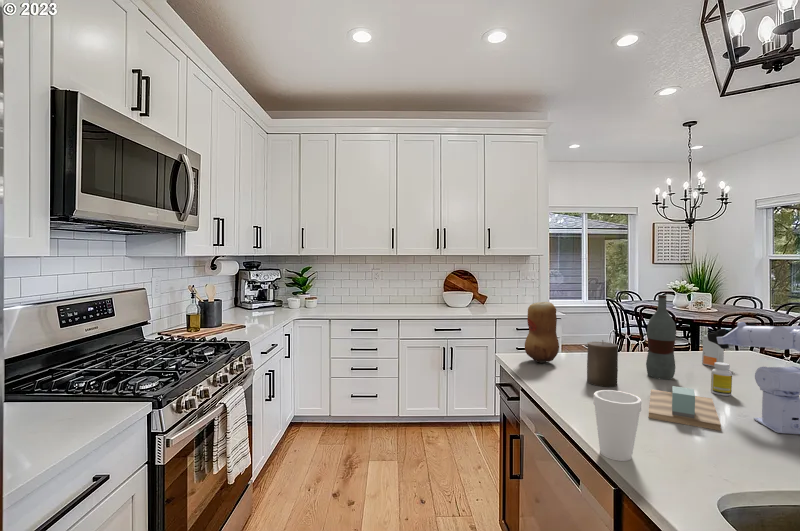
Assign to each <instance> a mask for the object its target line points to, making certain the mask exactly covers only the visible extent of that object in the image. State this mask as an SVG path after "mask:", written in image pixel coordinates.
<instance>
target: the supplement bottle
mask: <svg viewBox="0 0 800 531" xmlns="http://www.w3.org/2000/svg"><path fill="white" fill-rule="evenodd" d="M730 368H731V365H730V364H729V363H727V362H723V363H722V362H715V363H714V367H713V369H712V370H711V372H710V373H711V377H710V392H711V393H712V394H715V395H717V396H724V397H727V396H732V392H733V391H732V388H733V386H732V385H733V373H732V371H730Z"/></svg>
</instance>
